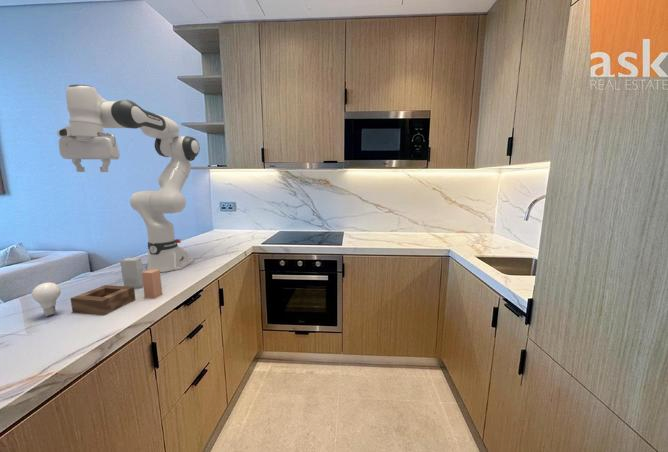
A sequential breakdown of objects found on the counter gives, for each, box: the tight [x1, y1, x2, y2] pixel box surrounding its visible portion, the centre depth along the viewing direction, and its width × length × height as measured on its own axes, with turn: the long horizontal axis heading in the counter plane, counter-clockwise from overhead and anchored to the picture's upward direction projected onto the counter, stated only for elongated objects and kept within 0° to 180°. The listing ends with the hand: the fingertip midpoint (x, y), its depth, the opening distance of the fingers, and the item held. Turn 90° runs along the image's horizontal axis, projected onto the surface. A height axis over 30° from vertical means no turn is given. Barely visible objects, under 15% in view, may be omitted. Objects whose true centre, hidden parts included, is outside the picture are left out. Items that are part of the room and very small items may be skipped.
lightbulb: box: [31, 281, 62, 317], centre depth 87 cm, size 6×6×11 cm
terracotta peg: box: [142, 269, 163, 299], centre depth 103 cm, size 4×4×10 cm
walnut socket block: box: [70, 284, 136, 316], centre depth 95 cm, size 12×12×5 cm
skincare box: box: [119, 257, 144, 289], centre depth 112 cm, size 6×4×12 cm
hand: (92, 172), depth 99 cm, fingers open, 8 cm apart
